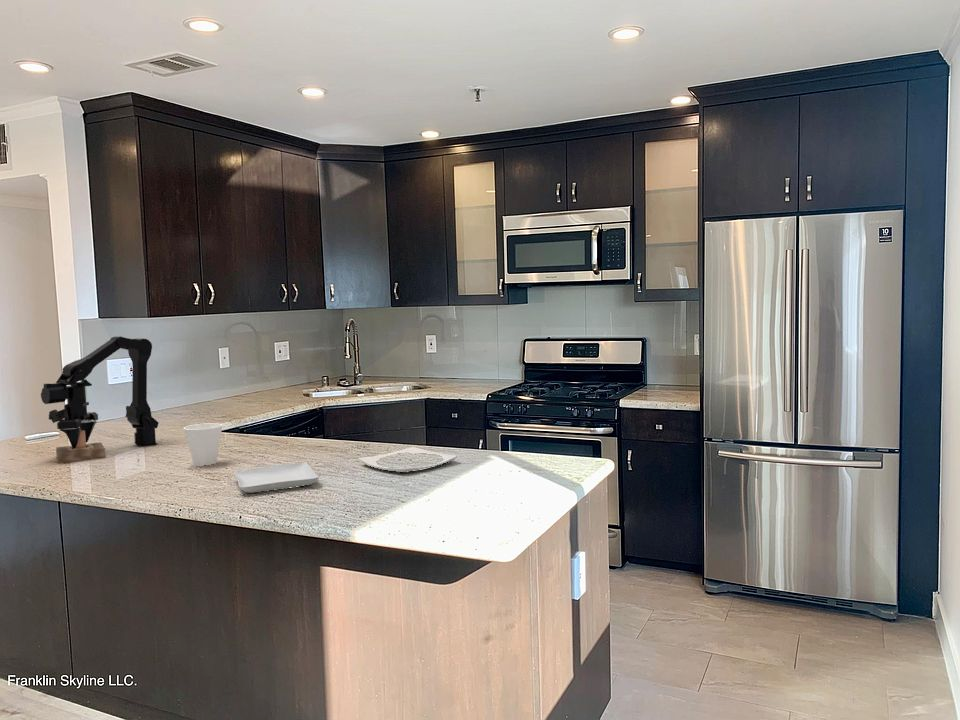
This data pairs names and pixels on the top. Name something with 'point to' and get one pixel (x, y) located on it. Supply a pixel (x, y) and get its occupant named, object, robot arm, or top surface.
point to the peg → (81, 440)
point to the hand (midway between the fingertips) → (80, 445)
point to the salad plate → (275, 477)
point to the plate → (372, 460)
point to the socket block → (80, 453)
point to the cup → (203, 442)
